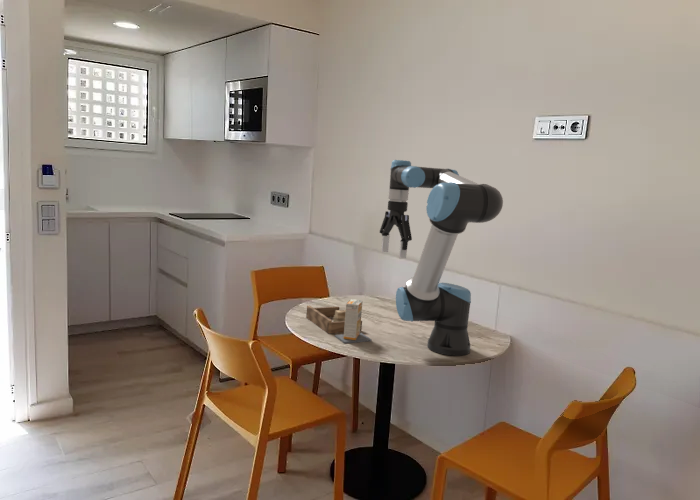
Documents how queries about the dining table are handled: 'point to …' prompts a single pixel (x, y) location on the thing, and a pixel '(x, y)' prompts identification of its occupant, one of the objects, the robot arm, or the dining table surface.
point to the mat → (360, 338)
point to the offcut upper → (340, 314)
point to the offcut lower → (338, 319)
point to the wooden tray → (326, 319)
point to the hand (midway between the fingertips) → (393, 255)
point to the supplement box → (353, 319)
